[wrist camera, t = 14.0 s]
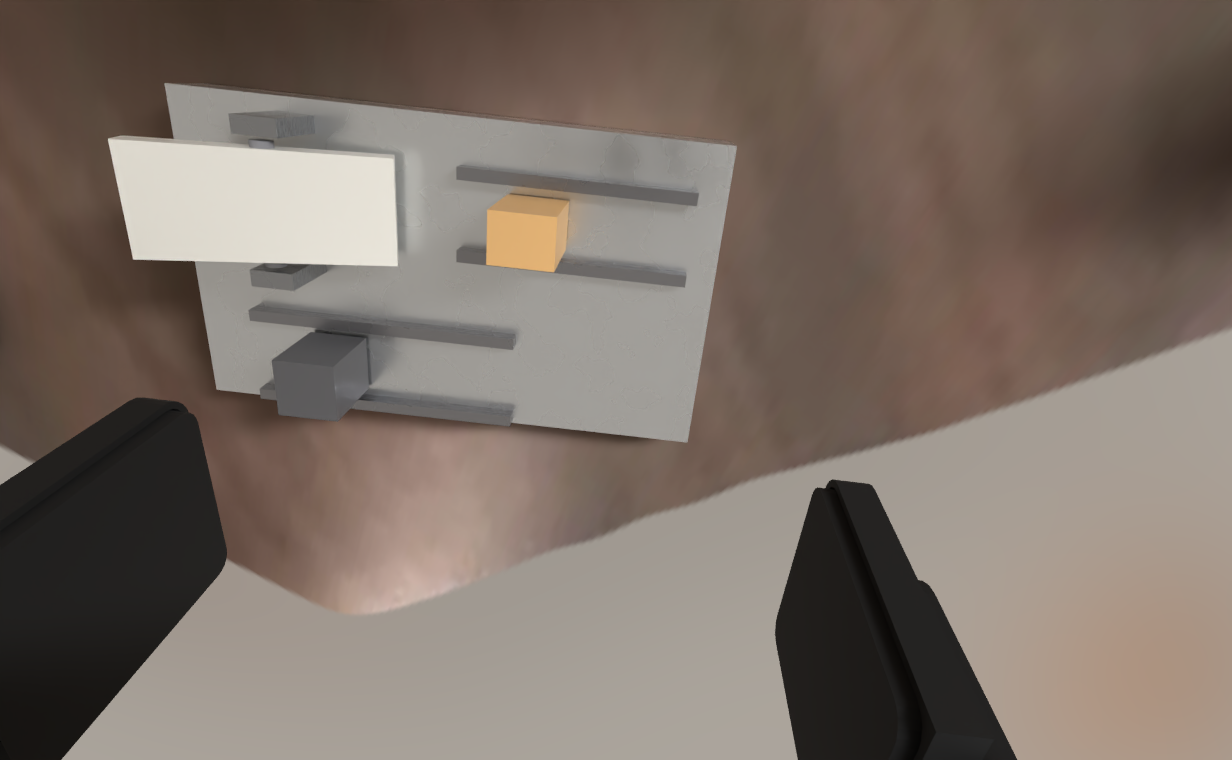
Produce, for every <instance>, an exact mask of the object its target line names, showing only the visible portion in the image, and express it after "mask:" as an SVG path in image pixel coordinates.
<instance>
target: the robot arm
mask: <svg viewBox="0 0 1232 760" xmlns="http://www.w3.org/2000/svg"><path fill="white" fill-rule="evenodd" d="M226 557H227V548H226V544H225V539H224V535H223V531H222V526H221V522H220V517H219V513H218V509H217V504H216V500H215V495H214V491H213V487H212V482H211V478H210V474H209V469H208V465H207V460H206V456H205V452H204V447H203V443H202V438H201V434H200V430H199V425H198V422H197V419H196V417H195V416H194V415H193V414H191V413H188V410H187V408H186V407H185V406H184V405H183V404H181V403H179V402H175V401H167V400H158V399H150V398H135V399H133V400H130V401H129V402H127V403H125V404H124V405H122V406H121V407H119V408H118V409H116V410H115V411H113V412H112V413H110V414H109V415H107V416H105V417H104V418H102V419H101V420H99V421H98V422H96V423H95V424H93V425H92V426H90V427H89V428H87V429H86V430H84V431H82V432H81V433H79V434H78V435H76V436H75V437H73V438H72V439H70V440H69V441H67V442H66V443H64V444H62V445H61V446H59V447H58V448H56V449H55V450H53V451H52V452H50V453H49V454H47V455H46V456H44V457H43V458H41V459H39V460H38V461H36V462H35V463H33V464H32V465H30V466H29V467H27V468H26V469H24V470H23V471H21V472H20V473H18V474H16V475H15V476H13V477H12V478H10V479H9V480H7V481H6V482H4V483H3V484H1V485H0V760H61V759H62V758H63V757H64V756H65V755H66V753H67V752H68V751H69V750H70V749H71V747H72V746H73V745H74V744H75V743H76V742H77V740H78V739H79V738H80V737H81V736H82V735H83V733H84V732H85V731H86V730H87V729H88V728H89V726H90V725H91V724H92V723H93V722H94V721H95V719H96V718H97V717H98V716H99V715H100V713H101V712H102V711H103V710H104V709H105V708H106V707H107V705H108V704H109V703H110V702H111V701H112V699H113V698H114V697H115V696H116V695H117V694H118V692H119V691H120V690H121V689H122V687H124V685H125V684H126V683H127V682H128V681H129V680H130V678H131V677H132V676H133V675H134V674H135V673H136V671H137V670H138V669H139V668H140V666H142V664H143V663H144V662H145V661H146V660H147V658H148V657H149V656H150V655H151V654H152V653H153V651H154V650H155V649H156V648H157V647H158V646H159V644H160V643H161V642H162V641H163V640H164V639H165V637H166V636H167V635H168V634H169V633H170V632H171V630H172V629H173V628H174V627H175V626H176V625H177V623H178V622H179V621H180V620H181V619H182V617H183V616H184V615H185V614H186V612H187V611H188V610H189V609H190V608H191V607H192V606H193V605H194V603H195V602H196V601H197V600H198V599H199V597H200V596H201V595H202V594H203V593H204V592H205V591H206V589H207V588H208V587H209V586H210V584H211V583H212V582H213V581H214V580H215V579H216V578H217V576H218V575H219V574H220V572H221V571H222V569H223V567H224V565H225V561H226ZM775 636H776V645H777V651H778V656H779V661H780V666H781V671H782V677H783V683H784V688H785V693H786V699H787V704H788V709H789V715H790V719H791V725H792V731H793V736H794V741H795V747H796V752H797V757H798V760H1017V758H1016V756H1015V754H1014V752H1013V750H1012V749H1011V746H1010V744H1009V742H1008V740H1007V738H1006V736H1005V734H1004V732H1003V730H1002V728H1001V726H1000V724H999V722H998V720H997V718H996V716H995V714H994V712H993V710H992V708H991V706H990V704H989V702H988V700H987V698H986V696H985V694H984V692H983V690H982V688H981V686H980V684H979V682H978V680H977V678H976V676H975V674H974V672H973V670H972V668H971V666H970V664H969V662H968V660H967V658H966V656H965V654H964V652H963V650H962V648H961V646H960V644H959V642H958V640H957V638H956V636H955V634H954V632H953V630H952V628H951V626H950V624H949V622H948V620H947V618H946V616H945V614H944V611H943V610H942V607H941V605H940V604H939V602H938V599H937V597H936V596H935V594H934V592H933V591H932V589H931V588H930V586H929V585H928V584H926V583H925V582H923V581H920V580H918V579H917V577H916V575H915V573H914V571H913V569H912V567H911V564H910V562H909V560H908V558H907V556H906V554H905V552H904V550H903V548H902V546H901V544H900V541H899V539H898V537H897V535H896V533H895V531H894V529H893V527H892V525H891V523H890V521H889V518H888V516H887V514H886V512H885V510H884V508H883V506H882V504H881V502H880V500H879V498H878V495H877V493H876V491H875V489H874V488H873V486H872V485H870V484H865V483H857V482H848V481H840V480H831V481H829V483H828V484H827V486H826V488H824V489H823V488H816V489H815V490H814V492H813V494H812V497H811V501H810V504H809V508H808V512H807V515H806V518H805V521H804V525H803V529H802V532H801V535H800V539H799V542H798V546H797V549H796V553H795V556H794V560H793V563H792V567H791V570H790V574H789V577H788V580H787V584H786V587H785V591H784V594H783V598H782V602H781V605H780V608H779V612H778V615H777V620H776V629H775Z"/></svg>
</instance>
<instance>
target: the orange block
mask: <svg viewBox="0 0 1232 760" xmlns="http://www.w3.org/2000/svg"><path fill="white" fill-rule="evenodd" d="M568 211H569V201H566V200H557V199H548V198H539V197H530V196H521V195H512V194H507V195H506V196H505V197H503V198H502V199H501V200H499V201H498V202H497V203H495V204H494V205H493V206H491V207H490V208H489V209H487V250H486V265H492V266H501V267H510V268H519V269H528V270H537V271H546V272H554V271H555V269H556V268H557V266H558V264H559V262H560V260H561V258H562V256H563V254H564V252H565V250H566V240H567V226H568Z"/></svg>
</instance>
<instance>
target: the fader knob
mask: <svg viewBox="0 0 1232 760" xmlns="http://www.w3.org/2000/svg"><path fill="white" fill-rule="evenodd" d="M272 368H273V375H274V383H275V391H276V399H277V406H278V414H279V415H284V416H293V417H302V418H311V419H320V420H329V421H337V422H338V421H339V420H340V419H341V418H342V416H343V415H344V414H345V413H346V412H347V411H348V410H349V409H350V408H351V407H352V406H353V405H354V404H355V403H356V401H357V400H358V399H359V398H360V397H361V396H362V395H363V394H364V393H365V392H366V391H367V390H368V389H369V379H368V363H367V347H366V338H361V337H352V336H344V335H335V334H326V333H317V332H310V333H309V334H307V335H306V336H304V337H303V338H302V339H300V340H299V341H297V342H296V343H295V344H293V345H292V346H290V347H289V348H288V349H286V350H285V351H284V352H282V353H281V354H279V355H278V356H277V357H275V358H274V359H272Z"/></svg>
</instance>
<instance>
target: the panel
mask: <svg viewBox="0 0 1232 760" xmlns="http://www.w3.org/2000/svg"><path fill="white" fill-rule="evenodd" d="M164 84H165V90H166V95H167V101H168V107H169V113H170V119H171V125H172V131H173V137H174V139H180V140H194V141H208V142H222V143H236V144H248V139H269V140H273V141H274V146H278V147H292V148H306V149H320V150H334V151H348V152H362V153H376V154H391V155H394V156H395V182H396V208H397V234H398V266H365V265H326V264H288V263H287V264H288V266H286V267H283V268H267V267H265V266H264V263H249V262H211V261H195V265H196V271H197V277H198V283H199V289H200V295H201V301H202V306H203V312H204V318H205V324H206V330H207V336H208V342H209V348H210V353H211V359H212V365H213V371H214V377H215V383H216V389H217V390H224V391H233V392H242V393H251V394H260V396H261V399H269V400H277V399H276V391H275V383H274V375H273V368H272V359H274V358H275V357H277V356H278V355H279V354H281V353H282V352H284V351H285V350H286V349H288V348H289V347H290V346H292V345H293V344H295V343H296V342H297V341H299V340H300V339H302V338H303V337H304V336H306V335H307V334H309V333H310V332H317V333H326V334H335V335H344V336H352V337H361V338H366V347H367V363H368V379H369V389H368V390H367V391H366V392H365V393H364V394H363V395H362V396H361V397H360V398H359V399H358V400H357V401H356V403H355V404H354V405H353V406H352V407H351V408H350V409H359V410H368V411H377V412H386V413H394V414H403V415H412V416H421V417H430V418H439V419H448V420H457V421H466V422H475V423H484V424H493V425H502V426H510V425H511V423H519V424H527V425H536V426H545V427H554V428H563V429H572V430H581V431H590V432H599V433H608V434H617V435H626V436H635V437H644V438H653V439H661V440H670V441H679V442H687V441H688V435H689V429H690V423H691V417H692V411H693V405H694V399H695V393H696V387H697V381H698V375H699V370H700V364H701V358H702V352H703V346H704V340H705V334H706V328H707V322H708V316H709V310H710V304H711V298H712V292H713V286H714V280H715V274H716V268H717V262H718V256H719V250H720V244H721V238H722V232H723V226H724V220H725V214H726V208H727V202H728V196H729V190H730V185H731V179H732V173H733V167H734V161H735V155H736V149H737V146H736V145H734V144H733V143H732V142H730V141H722V140H713V139H704V138H695V137H686V136H677V135H668V134H659V133H650V132H641V131H632V130H623V129H614V128H605V127H596V126H587V125H578V124H569V123H559V122H550V121H541V120H532V119H523V118H514V117H505V116H496V115H487V114H478V113H469V112H460V111H451V110H442V109H433V108H424V107H415V106H406V105H397V104H388V103H379V102H369V101H360V100H351V99H342V98H333V97H324V96H315V95H306V94H297V93H288V92H279V91H270V90H261V89H252V88H243V87H234V86H225V85H216V84H207V83H164ZM507 194H512V195H521V196H530V197H539V198H548V199H557V200H566V201H569V211H568V226H567V240H566V250H565V252H564V254H563V256H562V258H561V260H560V262H559V264H558V266H557V268H556V269H555V271H554V272H546V271H537V270H528V269H519V268H510V267H501V266H492V265H486V250H487V209H489V208H490V207H491V206H493V205H494V204H495V203H497V202H498V201H499V200H501V199H502V198H503V197H505V196H506V195H507Z"/></svg>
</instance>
